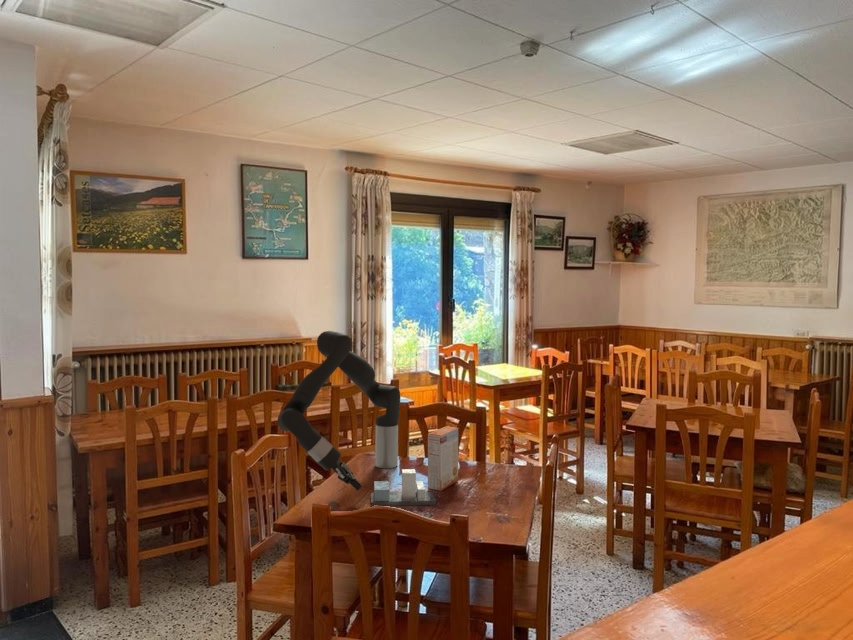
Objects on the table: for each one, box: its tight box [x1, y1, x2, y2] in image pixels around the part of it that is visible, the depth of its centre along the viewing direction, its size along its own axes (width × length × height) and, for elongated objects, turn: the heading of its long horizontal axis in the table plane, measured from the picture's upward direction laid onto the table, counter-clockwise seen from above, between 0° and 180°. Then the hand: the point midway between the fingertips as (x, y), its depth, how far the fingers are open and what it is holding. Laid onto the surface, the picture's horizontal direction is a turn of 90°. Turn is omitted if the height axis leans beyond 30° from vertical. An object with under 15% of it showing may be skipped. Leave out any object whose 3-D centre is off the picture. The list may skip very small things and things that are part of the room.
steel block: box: [401, 468, 417, 499], centre depth 219 cm, size 4×4×9 cm
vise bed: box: [370, 480, 437, 507], centre depth 219 cm, size 9×22×6 cm, turn 96°
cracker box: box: [427, 425, 459, 492], centre depth 236 cm, size 14×6×21 cm, turn 149°
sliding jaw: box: [373, 480, 390, 501], centre depth 218 cm, size 9×5×4 cm, turn 6°
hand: (359, 487), depth 217 cm, fingers closed
